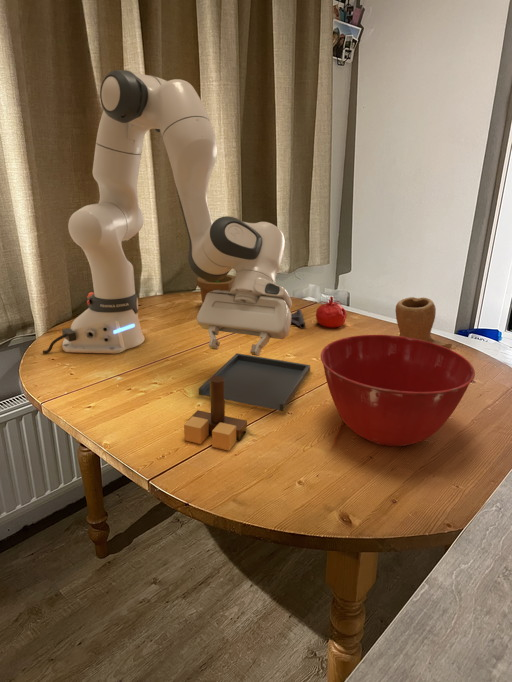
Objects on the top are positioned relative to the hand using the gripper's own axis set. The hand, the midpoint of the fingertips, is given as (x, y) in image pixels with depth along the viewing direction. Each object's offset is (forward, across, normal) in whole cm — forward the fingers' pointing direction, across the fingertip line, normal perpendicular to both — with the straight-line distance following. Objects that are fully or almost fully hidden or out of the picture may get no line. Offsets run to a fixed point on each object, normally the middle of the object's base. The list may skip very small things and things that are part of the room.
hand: (233, 351), depth 102 cm
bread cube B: (+18, -2, +1) cm, 19 cm away
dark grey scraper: (-32, -13, +52) cm, 63 cm away
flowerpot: (-36, -38, +55) cm, 75 cm away
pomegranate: (-34, +3, +55) cm, 65 cm away
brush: (+16, 0, +4) cm, 16 cm away
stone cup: (-26, +31, +48) cm, 63 cm away
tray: (0, -1, +20) cm, 20 cm away
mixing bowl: (+6, +31, +16) cm, 35 cm away
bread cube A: (+18, +3, +1) cm, 19 cm away
